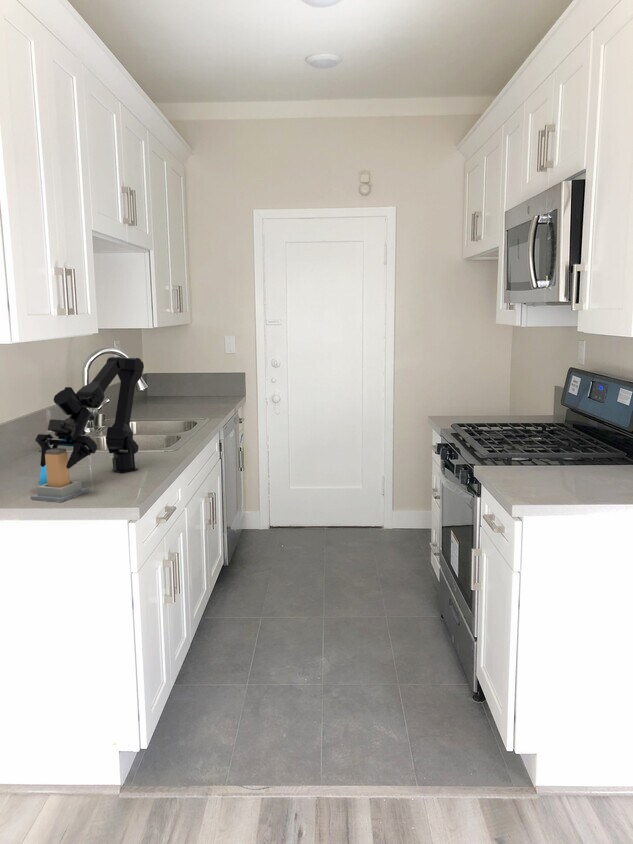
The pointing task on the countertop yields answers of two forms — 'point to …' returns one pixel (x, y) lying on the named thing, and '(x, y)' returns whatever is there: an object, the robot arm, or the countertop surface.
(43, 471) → the blue block
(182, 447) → the countertop surface
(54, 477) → the block
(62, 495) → the jig cradle
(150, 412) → the countertop surface
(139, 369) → the robot arm
